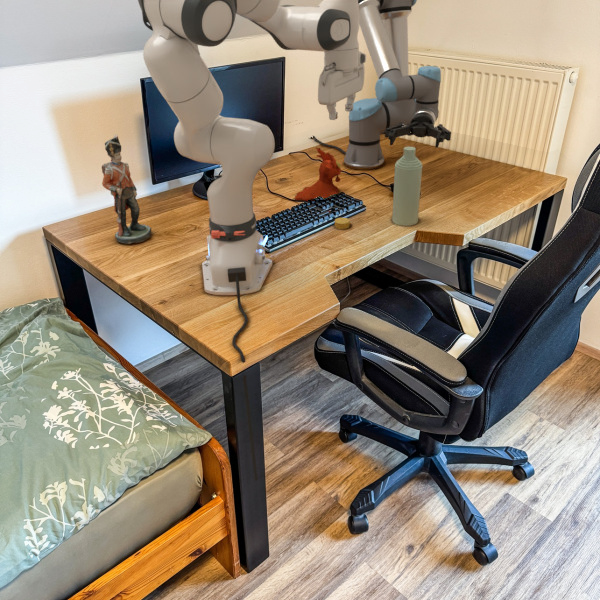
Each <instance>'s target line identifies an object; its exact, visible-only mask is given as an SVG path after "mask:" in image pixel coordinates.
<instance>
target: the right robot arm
mask: <svg viewBox="0 0 600 600" xmlns="http://www.w3.org/2000/svg"><path fill="white" fill-rule="evenodd" d="M417 2H418V0H358V5H359V29H360V31H361V33H362V36H363V39H364V42H365V44H366V48H367V50H368V52H369V56H370V59H371V61H372V64H373V68H374V70H375V73H376V75H377V80H376V82H375V86H374V91H375V97H371V98H363V99H359V100H356V101H354V104H353V110H352V111H350V112H349V113H348V137H349V138H348V146H347V148H346V151H344V150H343V149H342V148H340V147H338V146H336V145H333V144H328V143H325V142H322V141H321V140H319V139H318V138H317V137H316V136H315V135H312V136H313V138H312V137H311V136H310V140H314V141H315V142H316V143H318V144H319V145H321V146H324V147H327V148H331V149H335V150H338V151H339V152H341V153H342V154H343V155H345V156H344V157H343V165H344V166H345V167H347V168H348V169H352V170H357V171H368V170H376V169H379V168H381V167H383V166H384V164H385V158H384V154H383V153H384V152H383V149H382V147H381V136H383V135H384V138H387V139H388V141H389V146H393V145H394V143H395V141H396V139H397V138H400V137H404V136H408V137H410V136H415V137H416V138H426V137H428V138H430V137H431V138H434V139H435V148H439V145H440V143H444V142H445V141H447V142H450V141H451V138H452V131H451V130H449V129H447V127H445V126H444V125H443V124H442V123H439V124H438V125H437V126H435V124H436V122H437V119H438V118H439V114H440V113H439V97H440V90H441V83H442V70H441V68H440V67H438V66H435V65H424V66H419V68H418V69H417V73H416V74H410V73H409V72H410V71H409V70H410V69H409V32H408V31H409V30H408V27H409V26H408V25H409V23H408V17H409V16H410V14H411V13H412V7H414V6H415V5H416V4H417Z"/></svg>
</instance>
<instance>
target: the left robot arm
mask: <svg viewBox="0 0 600 600" xmlns="http://www.w3.org/2000/svg"><path fill="white" fill-rule="evenodd" d="M137 2H138V5H139V7H140V10H141V15H142V22H143V24H144V26H145V27H146V28H147V29H149V30H150V31H152V34H151V36H150V37H149V38H148V40H147V41H146V42H145V44H144V46H143V51H142V53H143V54H142V56H143V61H144V64H145V67H146V69H147V71H148V73H149V75H150V77H151V79H152V81H153V83H154V85H155V87H156V88H157V90H158V91H159V93H160V94H161V96H162V97H163V98H164V100H165V101H166V103H167V105H168V106H169V107H170V109H171V111H172V112H173V113H174V114H175V116H176V117H177V120H178V122H177V124H176V126H175V127H174V132H173V141H174V145H175V148H176V151H177V152H178V153H179V154H180V156H182V157H185V158H187V159H190V160H192V161H195V162H198V163H204V164H212V165H219V166H220V167H221V171H222V173H221V176H220V177H218V178H217V179H215V180H213V181H212V182H211V183H210V185H209V187H208V189H207V191H206V195H207V203H208V212H209V218H208V229H209V234H208V235H207V236H206V243H207V249H208V255H206V256H205V260H204V261H203V262H202V263H201V268H202V278H203V290H204V292H205V293H207V294H210V295H214V296H236V300H237V306H238V309H239V311H240V313H241V315H242V316H243V319H244V321H243V324H242V326H241V327H240V328H239V329H238V330H237V331H236V333H234V335H233V337H232V341H231V342H232V347H233V348H234V349H235V350H236V351H237V353H238V355H239V357H240V360H241V363H246V358H245V355H244V352H243V350H242V349H241V348H240V347H239V346H238V345H237V343H236V342H237V338H238V337H239V335H240V334H241V333H243V331H244V330H245V329H246V327H247V326H248V322H249V318H248V314H247V313H246V312H245V310H244V308H243V306H242V301H241V295H249V294H253V293H256V292H259V291H260V290H261V288H262V287H263V286H264V283H265V280H266V278H267V276H268V274H269V273H270V271H271V268H272V266H273V265H274V264H273V260H272V259H271V258H268V257H266V249H265V246H266V243H267V241H268V239H269V237H268V235H265V237H264V235H263V234H262V233H260V232H259V231H258V230H257V218H256V214H255V212H254V200H253V188H254V186H253V185H254V182H255V179H256V176H257V175H258V173H259V171H260V170H261V169H262V168H264V167H265V166H266V165H267V164H268V163H269V162H270V161H271V159H272V158H273V156H274V153H275V147H276V142H275V137H274V134H273V132H272V130H271V129H270V127H269V126H268V125H267V124H264V123H261V122H258V121H256V120H252V119H249V118H248V119H247V118H238V117H227V116H222V115H221V113H222V112H223V111H222V110H223V107H224V94H223V92H222V90H221V88H220V86H219V84H218V82H217V81H216V79H215V77H214V75H213V74H212V72H211V70H210V69H209V67H208V65H207V64H206V63H205V61H204V59H203V58H202V56H201V53H200V49H199V46H202V47H208V48H212V47H217V46H219V45H221V44H222V43H223V42H225V40H226V39H227V38H228V37H229V35H230V33H231V31H232V29H233V27H234V24H235V22H236V15H238V16H240V17H242V18H245V19H247V20H249V21H250V22H252V23H254V24H255V25H256V26H258V27H259V28H261V29H263V30H264V31H265V32H267V33H268V34H269V35H270V36H271V37H272V39H273V40H274V42H275V43H276V45H277V46H278V47H279V48H281V49H282V50H284V51H285V50H286V51H297V50H299V51H311V52H323V62H324V63H323V65H324V66H323V69H322V71H321V73H320V75H319V78H318V86H317V102H318V103H319V105H322V106H326V109H327V112H328V119H329V120H330V121H336V120H338V117H339V116H338V111H337V109H336V107H337V103H338V102H340V101H342V100H345V99H346V103H345V104H344V107H345V108H344V111H345V112H347V113H348V112H350V111H352V110H353V104H354V102H355V100H356V97H357V96H356V95H357V94H356V93H359V92H361V91H363V87H364V83H365V63H366V62H367V54H365V53H364V52H361V51H360V44H359V39H358V35H359V31H360V25H359V5H358V0H322V1H321V2H319V3H318V4H317V5H316V6H305V5H304V6H302V5H301V6H300V5H299V6H298V5H291V4H283V5H281V2H282V0H137ZM242 381H243V382H242V385H243V394H244V401H245V411H246V420H247V429H248V437H249V443H250V444H249V445H250V453H251V460H252V468H253V477H254V478H253V479H254V481H258V479H259V478H258V467H257V461H256V451H255V443H254V434H253V427H252V417H251V408H250V400H249V399H250V398H249V390H248V380H247V375H242Z"/></svg>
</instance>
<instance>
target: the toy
mask: <svg viewBox="0 0 600 600" xmlns="http://www.w3.org/2000/svg"><path fill="white" fill-rule="evenodd" d="M315 149H316V151H317V153H318V154H317V155H316V157H317V158H321V159H322V162H321V163H320V164H319V168H318V174H319V176H318V180H317V181H315V183H313V184H312V185H310V186H305V187H304V188H303V189H302V191H299V192H296V195H295V196H294V200H296V201H304V202H309V201H308V200H311V199H314V198H316V197H318V196H321V197H323V198H327V197H329V196H330V195H333V194H338V193H339V187H338V186H336V185H335V184H334V182H333V179H334V178H335V183H340V182H341V178H340V177H339V176H340V175H341V173H342V169H341V164H340V163H339V162H338V161H337V160H336V158H335V157H334V155H333V154H331V153H330V152H325V151H324V150H322V149H321V147H315ZM311 201H312V200H311Z"/></svg>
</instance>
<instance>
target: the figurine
mask: <svg viewBox="0 0 600 600" xmlns="http://www.w3.org/2000/svg"><path fill="white" fill-rule="evenodd" d="M104 149H105V151H106V153H107V156H108V157H109V158H110V161H108V162H105V163H103V164H102V165H101V172H102V174H103V177H102V182H101V185H102V187H103V188H105V190H108V191H110V195H111V196H113V201H114V202H113V204H114V206H113V207H114V209H113V210H114V212H115V213H116V214H117V218H116V222H117V224H118V230H117V231H116V233H115V234H114V237H115V240H116V241H117V242H118V243H121V244H128V245H130V244H133V243H135V244H137V243H142V242H144V241H147V240H149V239H150V238H151V236H152V228H151V227H150V226H149V225H147V224H141V223H139V218H140V213H141V212H140V211H141V210H140V206H139V203H138V200H137V199H136V198H137V196H138V192H137V190H138V189H137V187H136V185H135V184H134V181H133V179H132V177H131V172H130V166H129V163H128V162H123V161H122V155H121V152H122V145H121V142H120V140H119V136H118V134H115V135H114V136H113V137H112V138H111V139H108V140H107V141H106V142H104ZM128 210H130V218H131V222H130V224H129V226H128V224H127V211H128Z"/></svg>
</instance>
